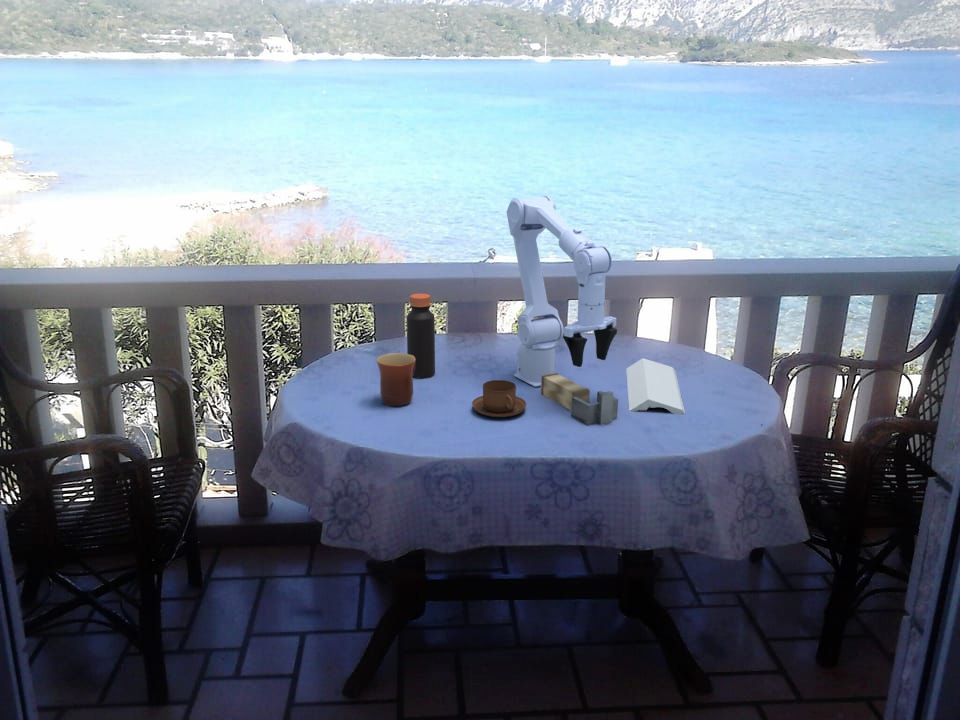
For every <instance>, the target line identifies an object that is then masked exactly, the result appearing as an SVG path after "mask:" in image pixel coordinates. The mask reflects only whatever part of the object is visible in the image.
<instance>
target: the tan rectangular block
mask: <svg viewBox="0 0 960 720" xmlns="http://www.w3.org/2000/svg"><path fill="white" fill-rule="evenodd" d="M540 387H541V388H540V395H542V396H544V397H546V398H548V399H549V400H551V401H553V402H554V403H556V404H559V406H562V407H564V408H566V409H568V410H569V411H571V407H572V397H575V396H576V397H578V398H580V399H581V400H583V401H585V402H587V403H589V404H590V392H591V390H590V388H586V387H584V386H582V385H581V384H579V383H576V382H574V381H572V380H570V379H568V378H567V377H564V376H562V375H560V374H559V373H558V372H554V373H553V374H548V375H543V376H542V380H541V386H540Z"/></svg>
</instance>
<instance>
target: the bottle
mask: <svg viewBox="0 0 960 720" xmlns="http://www.w3.org/2000/svg"><path fill="white" fill-rule="evenodd" d="M409 305H410V308H411V310H410V311H409V312H408V314H407V315H406V349H407V350H406V352H407V353H406V354H411V355H414V357H415V359H416V361H415V362H416V363H415V371H414V375H413V379H428V378H431V377H433V376H435V374H436V343H435V341H436V340H435V339H436V337H435V336H436V332H435V331H436V330H435V328H436V326H435V321H436V320H435V314H434V313H433V312H432V311H431V310H430V307H431V295H430V294H427V293H413V294H411V295H409Z"/></svg>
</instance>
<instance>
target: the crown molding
mask: <svg viewBox="0 0 960 720" xmlns="http://www.w3.org/2000/svg"><path fill="white" fill-rule="evenodd" d="M626 383H627V396H628V397H627V398H628V409H629V412H638V411H647V410H648V409H649V408H651V409H652V408H653V409H655V408H662V409H663V408H664V409H666V410H667V411H669V412H670V413H672V414H676V415H678V414H679V415H686V412H685V407H684V403H683V402H684V401H683V399H682V394H681V389H680V386H679V381H678V376H677V372H676V369H674V367H672V366H669V365H666V364H664V363H660V362H658V361H657V362H656V361H653V360H650V359H647V358H644V357H642V358H640V359H639V360H638V361H636V362H634V363H633V364H631V365H630V366H628V367H627V368H626Z"/></svg>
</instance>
